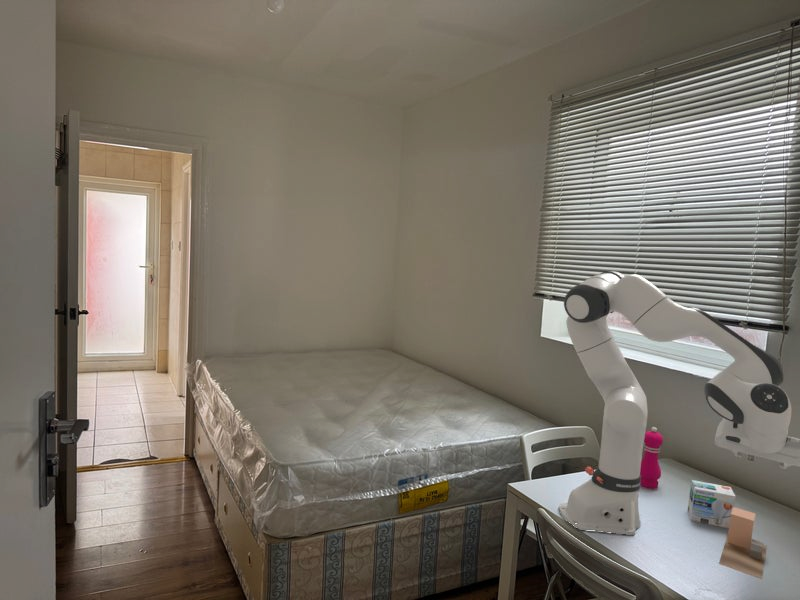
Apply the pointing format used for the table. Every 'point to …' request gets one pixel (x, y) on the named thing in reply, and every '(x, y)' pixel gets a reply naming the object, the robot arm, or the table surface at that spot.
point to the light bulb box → (711, 503)
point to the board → (745, 557)
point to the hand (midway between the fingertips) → (760, 460)
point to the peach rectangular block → (741, 527)
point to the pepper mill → (651, 459)
